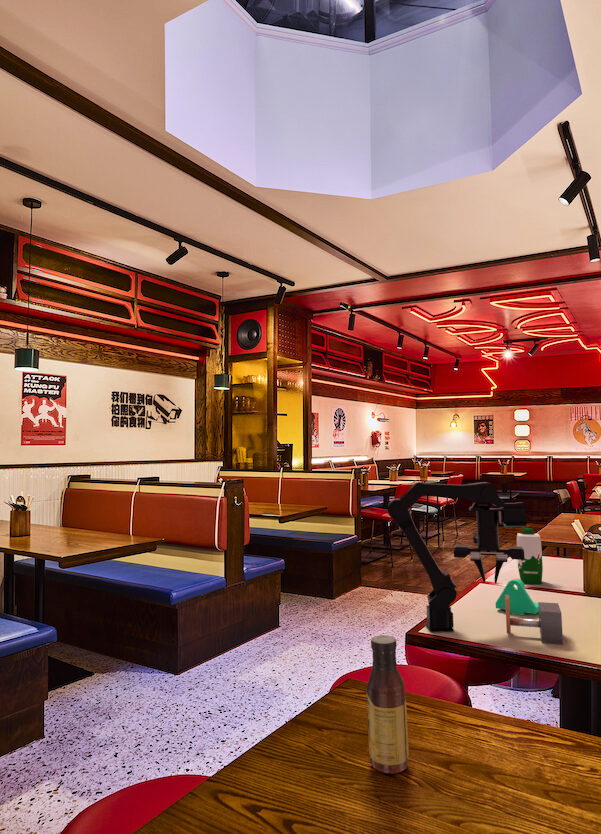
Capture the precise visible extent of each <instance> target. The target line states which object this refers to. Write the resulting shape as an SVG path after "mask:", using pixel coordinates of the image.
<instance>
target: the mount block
mask: <svg viewBox="0 0 601 834" xmlns="http://www.w3.org/2000/svg"><path fill="white" fill-rule="evenodd" d="M537 603H538V606H539V612H538V620H540V625H541V628H539V634H540V639H541V640H540V641H541V643H542V644H549V645H551V644H552V645H564V638H563V620H562V617H563V616H562V610H561V607H560V604H559V603H557V602H545V601H544V602H543V601H538V602H537Z"/></svg>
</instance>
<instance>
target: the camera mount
mask: <svg viewBox="0 0 601 834" xmlns="http://www.w3.org/2000/svg"><path fill="white" fill-rule="evenodd" d="M515 586H516V587H517V588H516V587H515ZM505 595H509V605H510V614H512V613H515V614H514V615H519V614H522V615H521V616H524V615H526V614H534V615H536V614H537V613H539V606H538V602H534V601H533V600H532V598H531V596H530V595H529V593H528V592H527V591H526V588H525V584H524V583H523V582H522V581H521V580H520V578H514V579H512V580H509V581H508V583H506V585H505V587H504V588H503V591H502V592H501V593H500V595H499V597H498V598H497V600H496V602H495V609H498V610H505V611H506V606H505ZM525 613H526V614H525ZM523 614H524V615H523Z"/></svg>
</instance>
